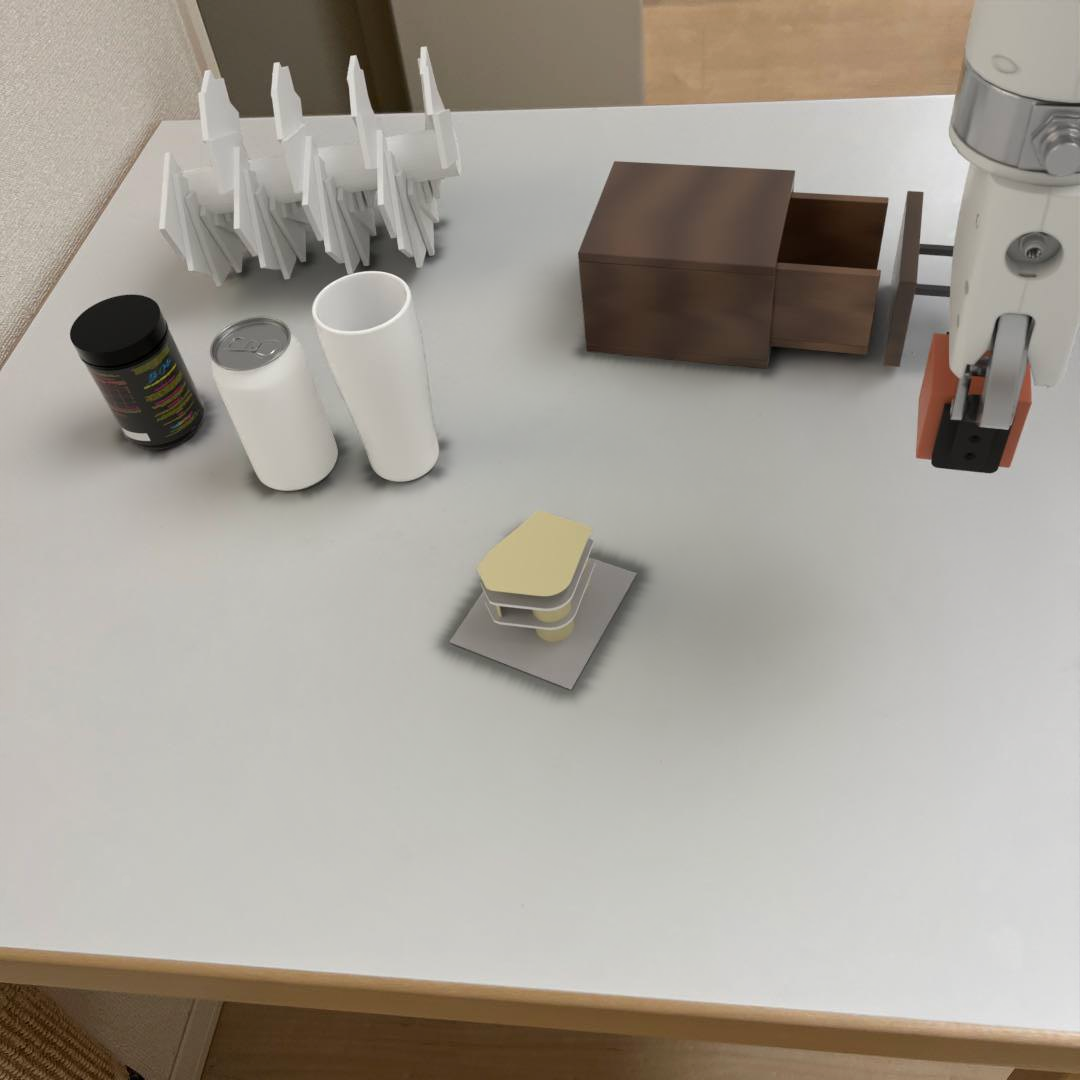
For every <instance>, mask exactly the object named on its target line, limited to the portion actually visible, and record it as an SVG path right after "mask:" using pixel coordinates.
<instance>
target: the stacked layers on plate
mask: <svg viewBox="0 0 1080 1080" xmlns="http://www.w3.org/2000/svg"><path fill="white" fill-rule="evenodd" d="M592 530H593V529H592V527H591V526H589V525H586V524H584V523H583V524H582V523H580V522H576V521H574V520H570V519H567V518H564V517H561V516H558V515H556V514H552V513H549V512H546V511H543V510H540V509H539V510H537V511H536V512H534V513H533V514H532V515H531V516H530V517H529V518H527V519H526V520H525V521H523V522H522V523H521V524H520V525H519V526H517V528H515V529H514V530H513V531H512V532H511V533H510V534H508V535H507V536H506V537H505V538H503V540H501V541H500V542H499V543H498V544H496V545H495V546H494V547H492V549H490V550H489V551H488V552H487V553H486V555H485V556H484V557H483V559H482V560H481V562H480V563H479V565H478V566H477V568H476V570H477V572H478V575H479V576H480V580H479V583H480V586H481V588H482V591H481V593H480V595H479V596H478V598H477V599H476V600H475V602H474V604H473V605H472V607H471V608H470V610H469V612H468V613H467V615H466V616H465V617H464V619H463V621H462V622H461V624H460V625H459V627H458V628H457V630H456V631H455V633H454V634H453V636H452V637H451V639H450V640H449V643H450V644H453V645H456V646H458V647H460V648H462V649H466V650H467V651H471V652H473V653H475V654H478V655H481V656H483V657H486V658H488V659H491V660H494V661H496V662H499V663H501V664H504V665H506V666H509V667H511V668H515V669H517V670H519V671H522V672H524V673H527V674H529V675H532V676H534V677H537V678H539V679H542V680H544V681H547V682H550V683H553V684H555V685H557V686H560V687H563V688H565V689H568V690H573V687H574V686H575V684H576V682H577V680H578V679H579V676H580V675H581V674H582V671H583V670H584V668H585V666H586V664H587V663H588V661H589V659H590V657H591V655H592V654H593V652H594V650H595V648H596V646H597V645H598V643H599V641H600V639H601V638H602V636H603V634H604V632H605V631H606V629H607V627H608V626H609V624H610V622H611V620H612V618H613V617H614V614H615V613H616V611H617V609H618V607H619V606H620V604H621V602H622V601H623V600H624V597H625V595H626V594H627V592H628V590H629V589H630V586H631V585H632V583H633V581H634V580H635V578H636V576H637V574H638V573H637V572H634V571H632V570H628V569H625V568H623V567H620V566H616V565H615V564H611V563H607V562H606V561H602V560H599V559H596V558H594V557H590V555H591V552H592V550H593V546H594V540H593V539H591V538H589V537H590V535H591V532H592Z"/></svg>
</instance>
